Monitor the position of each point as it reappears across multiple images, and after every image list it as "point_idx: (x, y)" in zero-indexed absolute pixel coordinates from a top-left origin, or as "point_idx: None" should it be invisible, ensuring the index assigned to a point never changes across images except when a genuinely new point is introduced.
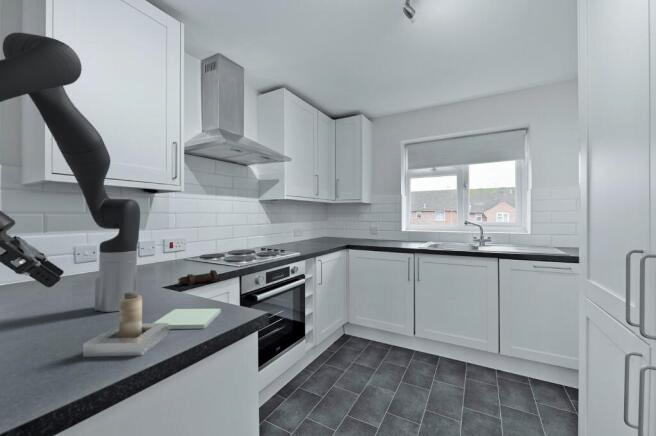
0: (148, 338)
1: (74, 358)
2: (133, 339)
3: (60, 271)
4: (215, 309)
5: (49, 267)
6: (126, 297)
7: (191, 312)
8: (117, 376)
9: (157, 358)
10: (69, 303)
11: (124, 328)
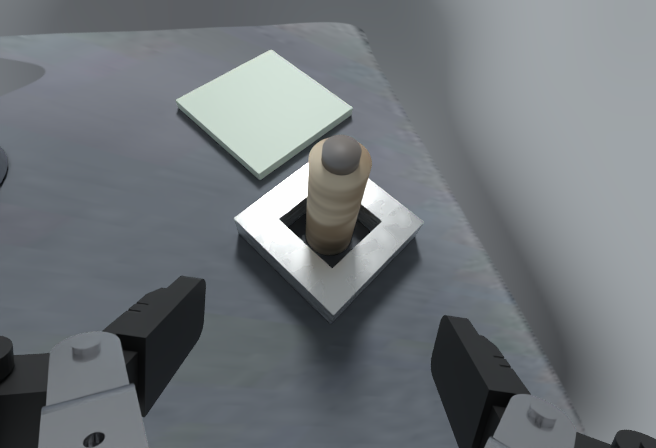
0: (403, 206)
1: (325, 340)
2: (389, 228)
3: (200, 290)
4: (267, 57)
5: (172, 335)
6: (351, 170)
7: (242, 90)
8: (489, 292)
9: (449, 221)
10: None
11: (350, 226)
